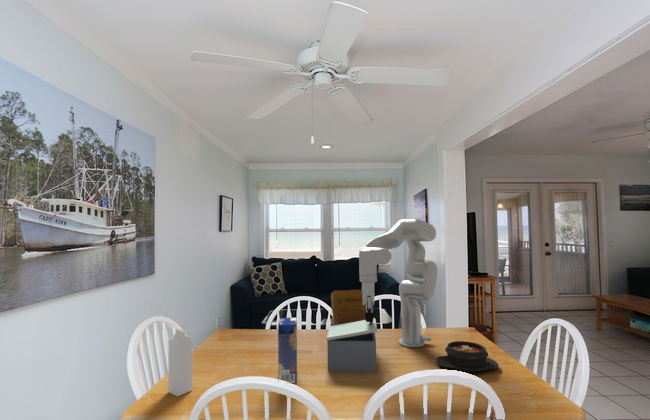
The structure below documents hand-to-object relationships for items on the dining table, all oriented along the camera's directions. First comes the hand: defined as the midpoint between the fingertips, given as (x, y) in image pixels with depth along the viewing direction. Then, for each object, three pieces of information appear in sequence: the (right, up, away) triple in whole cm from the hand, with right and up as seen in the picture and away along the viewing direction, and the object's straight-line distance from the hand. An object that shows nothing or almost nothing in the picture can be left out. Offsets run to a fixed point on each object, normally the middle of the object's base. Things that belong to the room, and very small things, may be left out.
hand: (369, 319), depth 158 cm
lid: (-7, -5, +1) cm, 9 cm away
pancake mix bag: (-6, -20, +22) cm, 30 cm away
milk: (-72, -19, -25) cm, 79 cm away
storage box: (-7, -19, 0) cm, 20 cm away
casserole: (+40, -19, -5) cm, 45 cm away
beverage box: (-34, -19, -14) cm, 41 cm away
